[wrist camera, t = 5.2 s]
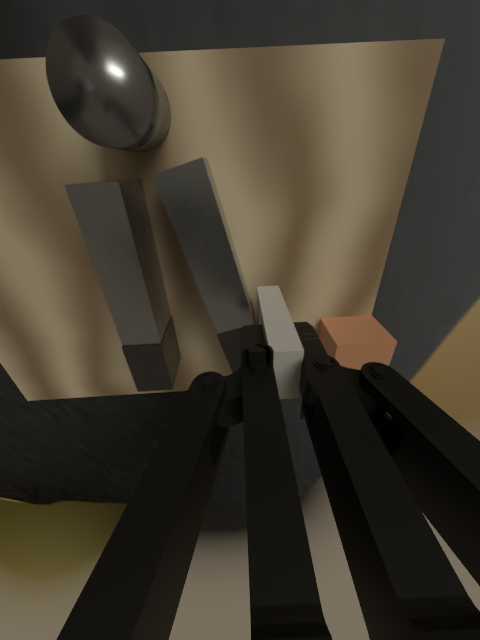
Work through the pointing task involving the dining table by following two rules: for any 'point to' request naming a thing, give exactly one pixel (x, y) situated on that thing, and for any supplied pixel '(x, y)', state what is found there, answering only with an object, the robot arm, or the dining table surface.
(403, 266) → the dining table surface
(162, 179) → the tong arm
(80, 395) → the board
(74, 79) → the tongs fixed
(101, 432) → the dining table surface
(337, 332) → the orange block
